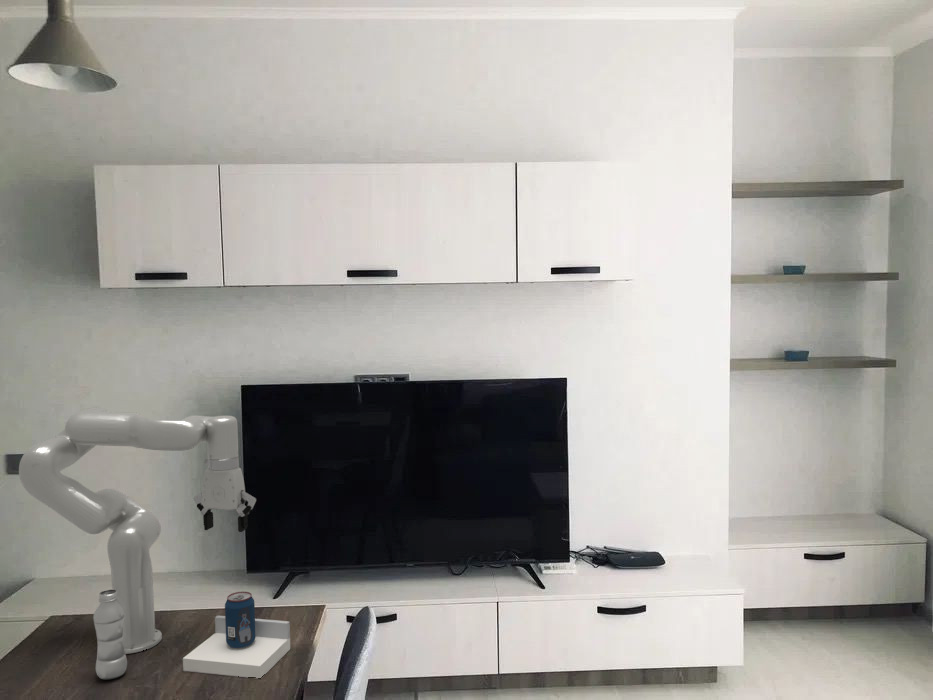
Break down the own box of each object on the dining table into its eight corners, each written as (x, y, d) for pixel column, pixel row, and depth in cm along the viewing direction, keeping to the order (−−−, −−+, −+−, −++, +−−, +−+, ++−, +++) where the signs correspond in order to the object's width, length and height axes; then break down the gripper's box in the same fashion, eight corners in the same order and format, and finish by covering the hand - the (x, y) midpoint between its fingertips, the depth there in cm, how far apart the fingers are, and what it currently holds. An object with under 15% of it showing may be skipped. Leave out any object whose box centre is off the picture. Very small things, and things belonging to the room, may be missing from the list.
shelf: (183, 670, 170) (182, 641, 169) (218, 642, 184) (217, 615, 184) (260, 678, 165) (259, 649, 165) (290, 648, 180) (289, 621, 180)
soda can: (238, 635, 181) (237, 589, 180) (261, 639, 178) (260, 592, 178) (220, 647, 175) (218, 599, 174) (243, 652, 172) (241, 603, 171)
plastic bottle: (115, 684, 164) (111, 598, 163) (89, 682, 165) (85, 596, 164) (133, 670, 170) (130, 587, 169) (108, 668, 171) (105, 586, 170)
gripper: (184, 466, 183) (187, 532, 184) (246, 468, 180) (248, 535, 180) (201, 460, 191) (204, 523, 192) (261, 462, 187) (263, 527, 188)
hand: (225, 529), depth 186 cm, fingers open, 9 cm apart
